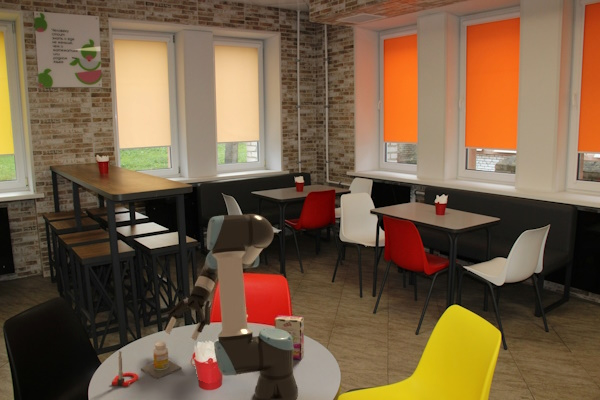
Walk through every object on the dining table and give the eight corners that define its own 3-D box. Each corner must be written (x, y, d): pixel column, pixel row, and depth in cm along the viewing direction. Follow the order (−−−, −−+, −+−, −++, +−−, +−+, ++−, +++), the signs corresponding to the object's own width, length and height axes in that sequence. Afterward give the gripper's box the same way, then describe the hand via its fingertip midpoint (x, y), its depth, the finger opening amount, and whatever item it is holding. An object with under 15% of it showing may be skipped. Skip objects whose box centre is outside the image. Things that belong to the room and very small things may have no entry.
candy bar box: (304, 354, 223) (304, 316, 220) (301, 360, 218) (301, 321, 215) (277, 352, 226) (277, 314, 223) (274, 357, 221) (274, 318, 218)
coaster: (181, 368, 211) (181, 367, 211) (157, 378, 203) (156, 377, 203) (165, 359, 218) (165, 358, 218) (141, 369, 210) (141, 367, 210)
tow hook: (121, 374, 207) (108, 385, 198) (120, 342, 206) (108, 351, 196) (142, 376, 206) (130, 387, 197) (141, 343, 204) (129, 353, 195)
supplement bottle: (155, 364, 213) (154, 340, 211) (169, 364, 213) (168, 340, 212) (152, 371, 208) (151, 346, 206) (167, 370, 208) (166, 346, 206)
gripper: (230, 298, 227) (209, 345, 216) (183, 289, 238) (161, 334, 228) (222, 289, 221) (200, 337, 211) (175, 280, 233) (151, 326, 222)
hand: (180, 336), depth 219 cm, fingers open, 13 cm apart
